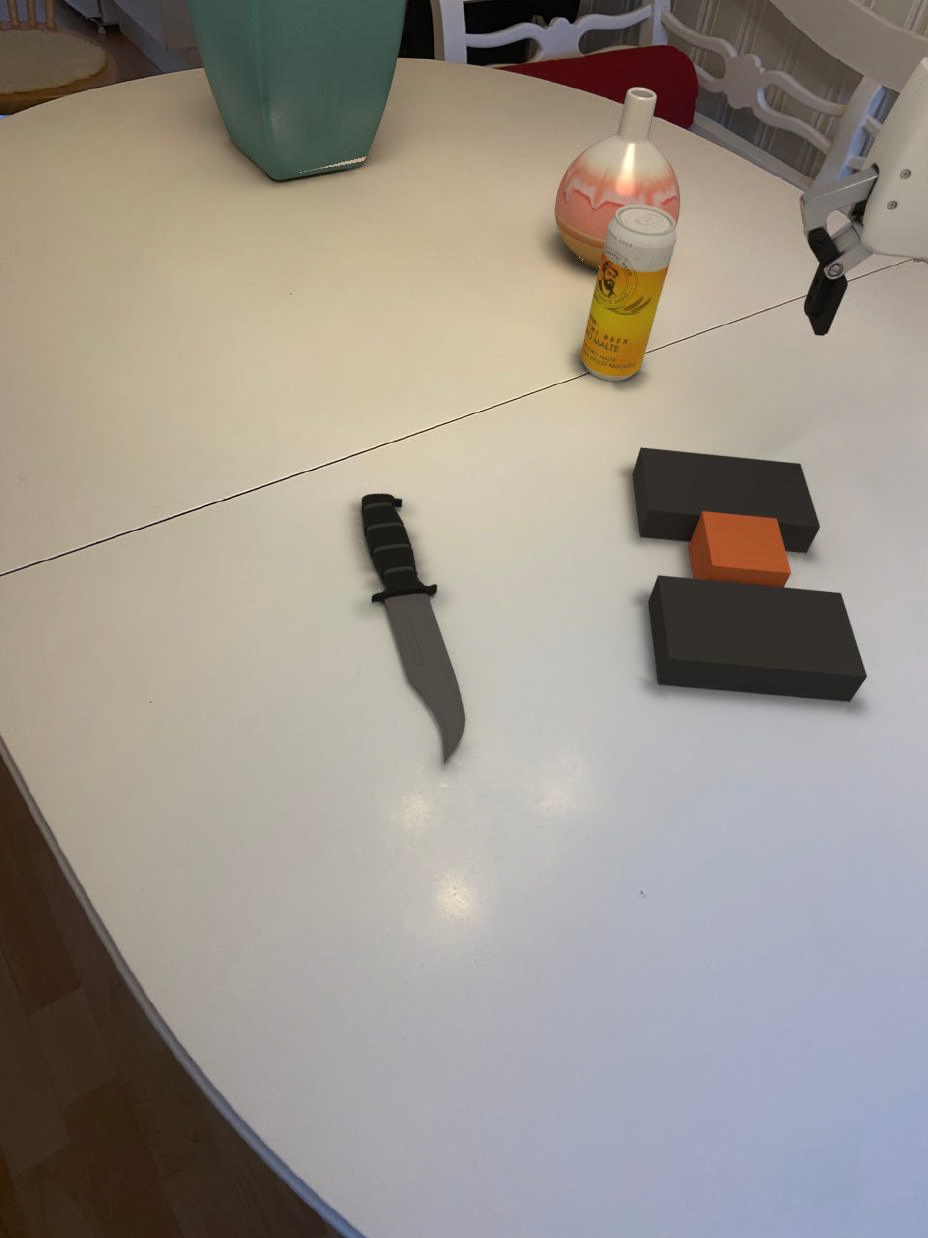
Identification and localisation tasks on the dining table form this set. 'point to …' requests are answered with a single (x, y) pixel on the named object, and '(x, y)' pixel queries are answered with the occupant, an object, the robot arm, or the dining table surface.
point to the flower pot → (299, 76)
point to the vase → (615, 180)
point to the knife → (413, 615)
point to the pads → (741, 585)
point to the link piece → (739, 550)
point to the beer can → (627, 290)
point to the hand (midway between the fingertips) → (885, 330)
